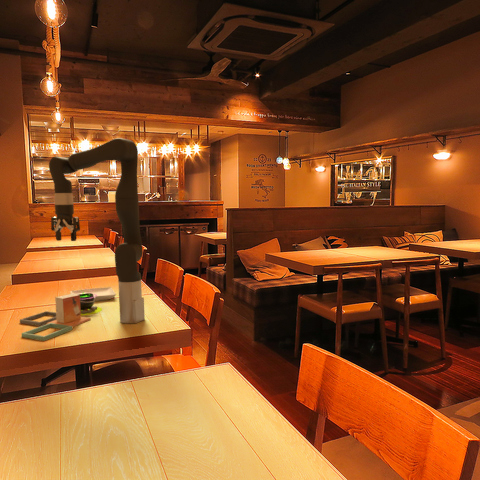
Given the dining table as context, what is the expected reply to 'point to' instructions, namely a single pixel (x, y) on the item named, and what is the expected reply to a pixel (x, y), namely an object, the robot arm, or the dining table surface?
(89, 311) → the toy cauldron
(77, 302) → the small box
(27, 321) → the grey rectangular frame
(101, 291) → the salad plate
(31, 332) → the green rectangular frame
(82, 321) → the terracotta tile
